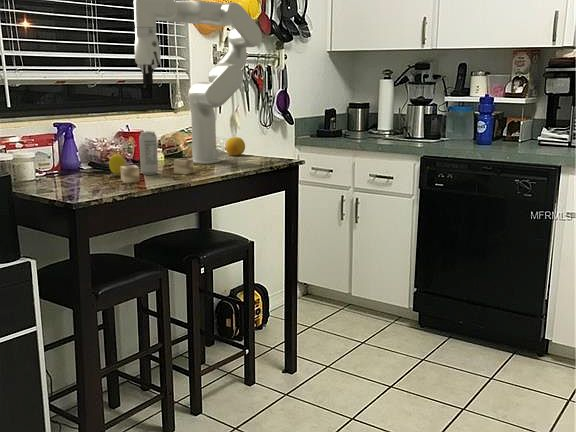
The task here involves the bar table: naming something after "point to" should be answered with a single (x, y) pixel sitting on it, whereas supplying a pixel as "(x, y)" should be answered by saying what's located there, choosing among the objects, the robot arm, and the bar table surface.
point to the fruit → (235, 146)
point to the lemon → (116, 163)
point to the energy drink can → (148, 153)
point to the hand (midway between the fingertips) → (148, 84)
